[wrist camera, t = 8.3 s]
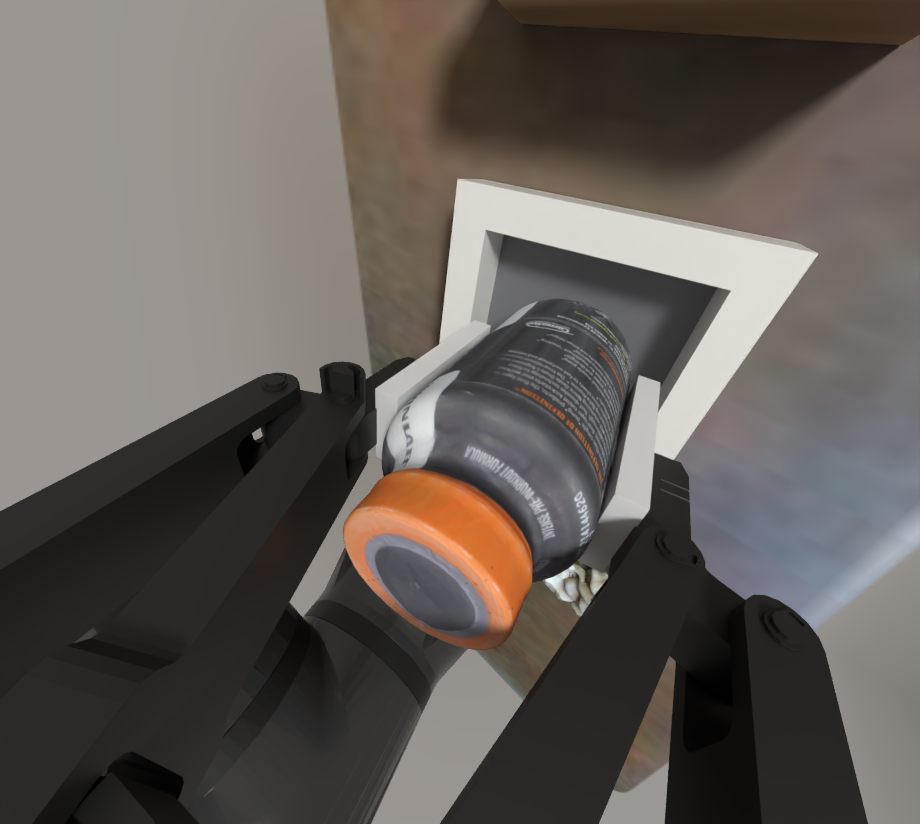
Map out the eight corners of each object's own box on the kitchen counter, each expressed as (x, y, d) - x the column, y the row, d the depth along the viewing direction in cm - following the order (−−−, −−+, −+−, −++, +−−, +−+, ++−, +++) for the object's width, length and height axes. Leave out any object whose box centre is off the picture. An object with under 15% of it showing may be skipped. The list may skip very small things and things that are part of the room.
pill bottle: (477, 317, 16) (256, 469, 8) (617, 274, 13) (497, 463, 4) (516, 429, 18) (377, 645, 10) (645, 418, 15) (603, 735, 6)
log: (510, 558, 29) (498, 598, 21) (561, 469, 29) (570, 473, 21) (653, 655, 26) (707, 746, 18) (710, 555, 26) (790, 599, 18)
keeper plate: (641, 478, 19) (638, 509, 17) (450, 398, 23) (430, 418, 21) (796, 242, 12) (818, 253, 10) (483, 179, 16) (457, 178, 14)
